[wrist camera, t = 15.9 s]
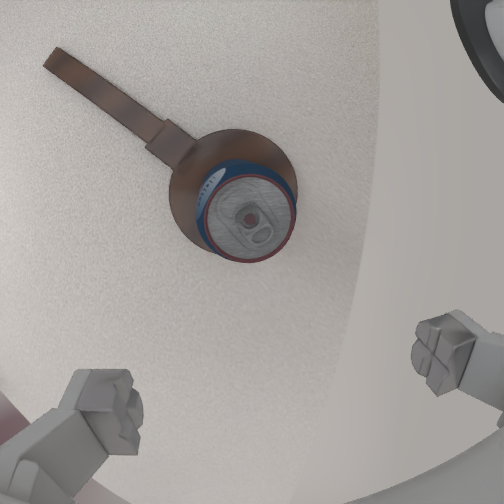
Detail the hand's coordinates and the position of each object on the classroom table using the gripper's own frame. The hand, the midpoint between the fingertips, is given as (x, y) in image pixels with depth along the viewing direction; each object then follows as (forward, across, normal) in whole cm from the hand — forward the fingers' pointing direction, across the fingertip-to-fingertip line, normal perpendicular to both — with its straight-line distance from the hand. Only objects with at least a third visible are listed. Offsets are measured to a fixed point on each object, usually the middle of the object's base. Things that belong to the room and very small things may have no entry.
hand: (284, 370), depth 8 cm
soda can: (+25, -1, -1) cm, 25 cm away
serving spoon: (+26, +6, -8) cm, 27 cm away
